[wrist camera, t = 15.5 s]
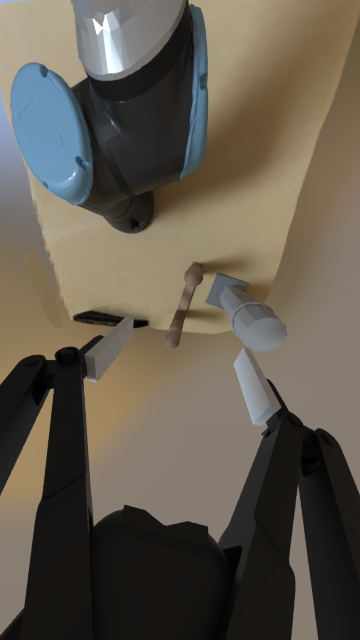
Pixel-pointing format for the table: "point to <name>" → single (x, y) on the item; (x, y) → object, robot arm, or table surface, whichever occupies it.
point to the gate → (183, 304)
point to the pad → (219, 287)
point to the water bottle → (252, 320)
